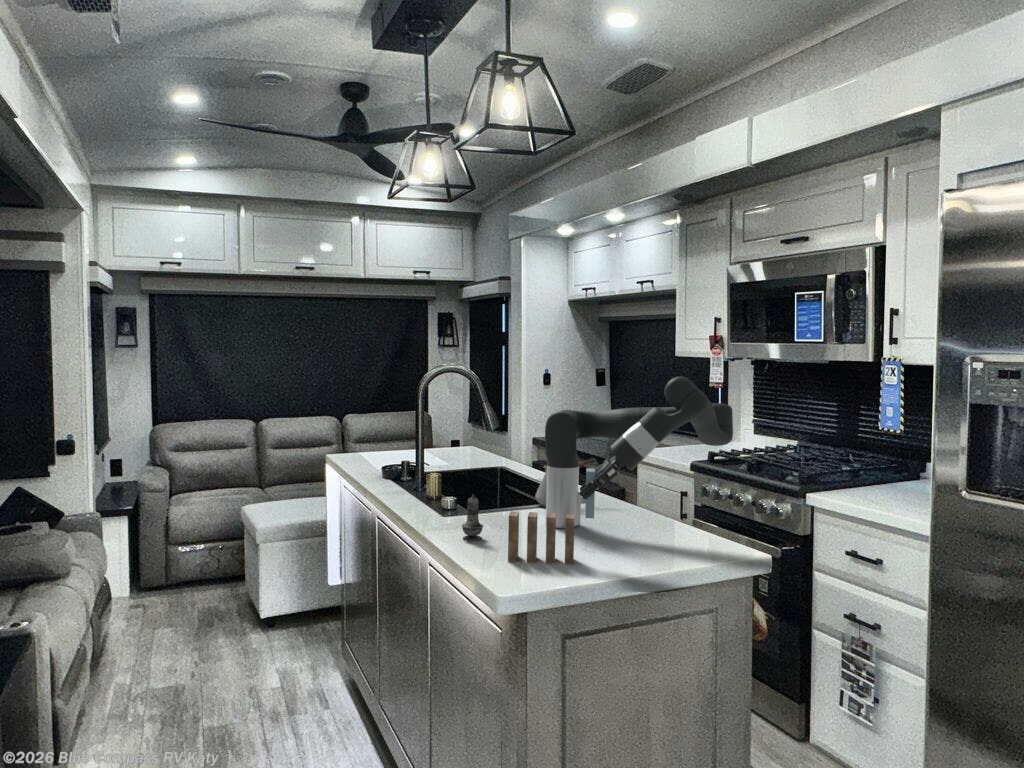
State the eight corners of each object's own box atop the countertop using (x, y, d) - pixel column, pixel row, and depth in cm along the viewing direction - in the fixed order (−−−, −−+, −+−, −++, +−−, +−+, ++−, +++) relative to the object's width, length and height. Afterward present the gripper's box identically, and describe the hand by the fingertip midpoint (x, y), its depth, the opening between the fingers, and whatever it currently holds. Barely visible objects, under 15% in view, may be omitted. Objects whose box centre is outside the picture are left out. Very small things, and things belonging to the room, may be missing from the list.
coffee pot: (543, 510, 235) (545, 462, 234) (529, 502, 245) (530, 457, 244) (603, 506, 243) (604, 460, 242) (586, 499, 253) (587, 455, 253)
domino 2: (536, 557, 181) (537, 512, 180) (535, 562, 176) (536, 517, 176) (528, 556, 181) (529, 512, 181) (526, 562, 176) (527, 516, 176)
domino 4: (573, 558, 180) (574, 514, 180) (573, 564, 175) (574, 518, 175) (565, 558, 180) (566, 513, 180) (564, 564, 175) (565, 518, 175)
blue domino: (593, 513, 179) (594, 468, 179) (594, 518, 174) (595, 471, 174) (585, 513, 179) (586, 468, 179) (585, 518, 174) (586, 471, 174)
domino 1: (518, 556, 181) (519, 511, 181) (516, 561, 176) (517, 516, 176) (510, 555, 182) (510, 511, 181) (507, 561, 177) (508, 515, 176)
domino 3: (555, 557, 181) (556, 513, 180) (554, 563, 176) (555, 517, 175) (546, 557, 181) (547, 512, 180) (545, 563, 176) (546, 517, 175)
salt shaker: (461, 536, 200) (461, 491, 199) (482, 536, 200) (483, 491, 200) (461, 541, 194) (462, 496, 193) (483, 541, 195) (484, 496, 194)
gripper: (648, 461, 168) (593, 512, 169) (643, 453, 182) (592, 499, 184) (624, 437, 168) (570, 488, 170) (621, 430, 182) (571, 477, 184)
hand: (582, 494), depth 177 cm, fingers closed on blue domino, 5 cm apart
